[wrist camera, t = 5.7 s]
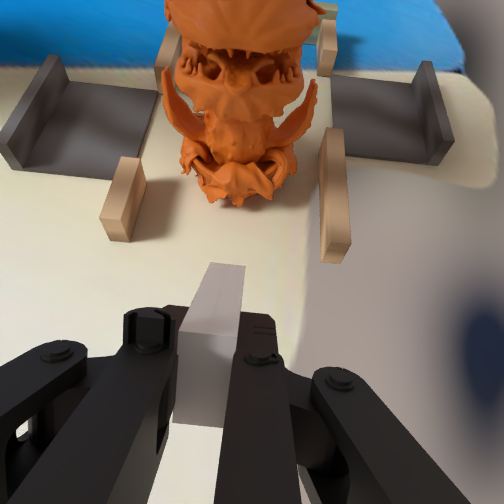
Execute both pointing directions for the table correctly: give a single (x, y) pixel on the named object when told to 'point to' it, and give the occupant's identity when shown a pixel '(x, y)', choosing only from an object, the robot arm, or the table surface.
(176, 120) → the orange sculpted figure
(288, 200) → the table surface
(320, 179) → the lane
